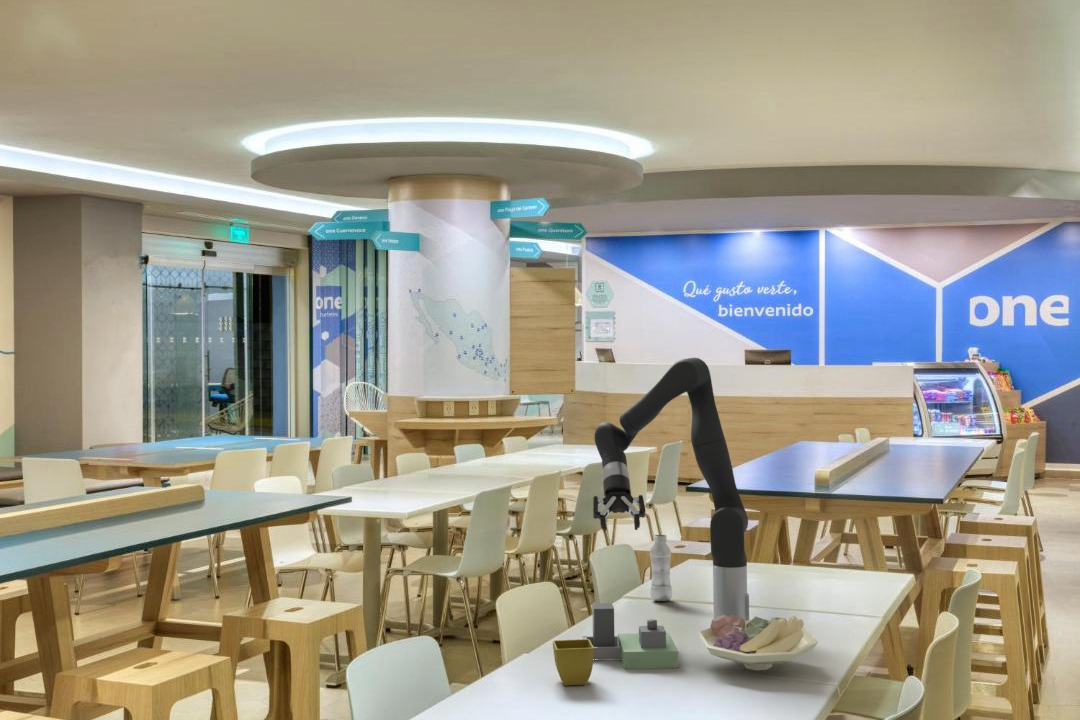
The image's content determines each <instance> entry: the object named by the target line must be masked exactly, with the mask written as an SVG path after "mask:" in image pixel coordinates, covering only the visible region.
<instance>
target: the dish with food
mask: <svg viewBox="0 0 1080 720" xmlns="http://www.w3.org/2000/svg"><path fill="white" fill-rule="evenodd" d="M789 617H790V618H789V619H788V620H787V619H786V618H785V617H770V619H764V618H762V617H759V616H754V617H753V618H752V619H751V620H750V619H749V620H747V621H745V619H743V618H740V617H737V616H734V615H732V616H730V617H728V616H726V615H722V616H718V617H716V618H715V619H714V618H713V619H712V620H711V623H710V627H709V628H706V629H704V630H702V631H699V632H698V636H699V637H700V639H701V641H702V643H703V644H704V646H705V647H706V649H707V650H708V652H709V654H710V655H712V656H715V657H718V658H721V659H724V660H729V661H733V662H736V663H740V664H741V663H742V665H743V666H744V668H746V669H749V670H753V671H766V670H769V669H770V668H773V664H786V663H787V662H791V661H793V660H796V659H797V658H799V657H801V656H803V655H805V654H807V653H808V652H810V651H812V650H814V648H815V647H816V646H817V644H818V643H819V640H818V639H816V637H815V636H813V635H812V633H811V632H810V631H809V630H808V629H807V628H806V627H804V625H805V624H804V621H803V618H799V619H798V618H797V616H796V615H792V616H789Z"/></svg>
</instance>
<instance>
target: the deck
mask: <svg viewBox="0 0 1080 720" xmlns="http://www.w3.org/2000/svg"><path fill="white" fill-rule="evenodd" d="M614 638H615V647H594V655H593V659H594V660H593V661H596V660H595V659H621V660H620V661H621V663H622V666H624V667H623V669H624V668H634V669H677V667H678V668H679V649H678V648H677V646H676V645H675V642H674V640H673V638H672V636H671V634H670V632H667V631H666V628H665V627H664V625H658V620H657V619H653V618H651V619H647V620H646V625H638V632H637V633H636V632H635V633H634V632H632V633H631V632H629V633H617V635H614ZM582 639H589V640H590V641H591V644H592V645H593V635H591V636H590V635H584V636H583V635H582ZM672 667H673V668H672Z"/></svg>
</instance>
